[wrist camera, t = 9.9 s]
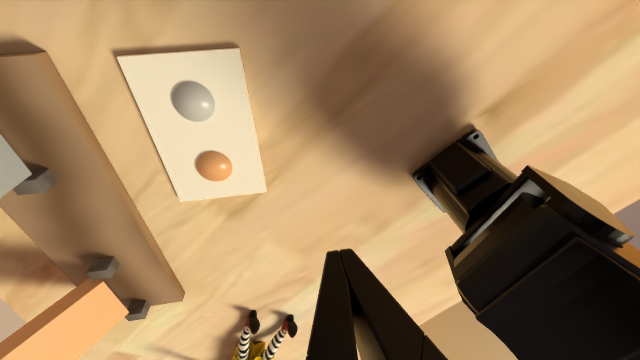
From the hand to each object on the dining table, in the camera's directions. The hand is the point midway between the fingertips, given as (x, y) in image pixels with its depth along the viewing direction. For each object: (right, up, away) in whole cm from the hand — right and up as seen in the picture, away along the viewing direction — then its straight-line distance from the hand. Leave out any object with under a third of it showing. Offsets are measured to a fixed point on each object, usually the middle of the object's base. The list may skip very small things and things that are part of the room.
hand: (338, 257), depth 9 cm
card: (-9, +6, +10) cm, 15 cm away
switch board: (-20, 0, +13) cm, 24 cm away
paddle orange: (-20, -8, +16) cm, 26 cm away
